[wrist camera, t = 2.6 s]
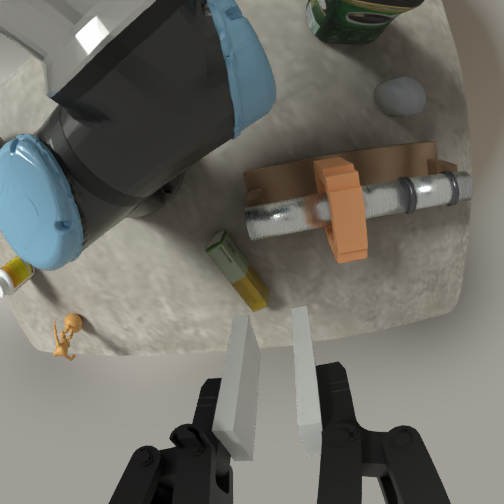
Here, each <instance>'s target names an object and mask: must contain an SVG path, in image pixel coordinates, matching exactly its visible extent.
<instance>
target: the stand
mask: <svg viewBox="0 0 504 504" xmlns="http://www.w3.org/2000/svg"><path fill="white" fill-rule="evenodd" d="M335 157H341V158H343V159H345V160H347V161H348V162H350V163H352V164H353V165H354V169H355V170H356V171H358V174H359V181H360V186H361V185H367V184H373V183H380V182H386V181H392V180H398V178H399V177H404V176H407V177H408V178H412V177H419V176H426V175H434V174H440V173H441V172H442V171H451V172H457V165H455V164H452V163H449V162H446V161H443V160H439V159H437V154H436V145H435V142H431V141H430V142H419V143H409V144H400V145H392V146H383V147H376V148H368V149H361V150H355V151H348V152H342V153H335V154H329V155H324V156H318V157H312V158H307V159H302V160H297V161H291V162H286V163H282V164H277V165H272V166H267V167H263V168H258V169H254V170H249V171H245V172H244V177H245V181H246V185H247V189H248V195H247V198H246V205H247V208H248V207H253V206H257V205H262V204H267V203H271V202H276V201H281V200H286V199H291V198H296V197H301V196H306V195H312V194H317V193H318V190H317V185H316V179H315V172H314V167H313V164H314V161H318V160H323V159H329V158H335Z"/></svg>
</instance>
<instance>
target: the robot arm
mask: <svg viewBox="0 0 504 504" xmlns="http://www.w3.org/2000/svg"><path fill="white" fill-rule="evenodd" d="M0 33H2V34H3V35H4V36H6V37H7V38H9V39H10V40H12V41H13V42H14V43H16V44H17V45H19V46H20V47H21V48H23V49H24V50H26V51H27V52H28V53H30V54H31V55H33V56H34V57H35V58H37V59H38V60H40V61H41V62H42V65H43V68H44V83H45V95H47V96H48V97H49V98H51V99H52V100H54V101H55V102H57V103H58V104H59V105H58V106H57V107H56V109H55V110H54V111H53V112H52V114H51V115H50V116H49V117H48V119H47V120H46V121H45V122H44V124H43V125H42V126H41V128H40V129H39V130H37V131H36V132H35V133H33V134H31V135H30V134H21V135H18V136H17V137H16V138H14V139H12V140H10V141H9V142H7V143H6V144H5V145H4V146H3V147H2V148H1V149H0V229H1V231H2V233H3V235H4V237H5V239H6V240H7V242H8V243H9V245H10V246H11V248H12V249H13V250H14V251H15V252H16V254H17V255H18V256H19V257H20V258H21V259H23V260H24V261H25V262H27V263H28V264H31V265H33V266H34V267H35V268H38V269H41V270H46V271H51V270H56V269H59V268H61V267H62V266H64V265H65V264H67V263H68V262H72V261H74V260H76V259H77V258H78V257H79V256H80V254H81V252H82V251H83V250H84V249H86V248H87V247H88V246H89V245H90V244H92V243H93V242H94V241H96V240H97V239H98V238H99V237H101V236H102V235H103V234H104V233H106V232H107V231H108V230H110V229H111V228H112V227H114V226H115V225H116V224H118V223H119V222H120V221H122V220H123V219H124V218H134V217H142V216H146V215H149V214H151V213H153V212H155V211H157V210H159V209H160V208H161V207H163V206H164V205H165V204H166V203H167V202H169V201H170V200H171V199H172V197H173V196H174V195H175V194H176V192H177V191H178V189H179V187H180V185H181V182H182V180H183V176H184V172H185V169H187V168H188V167H190V166H191V165H193V164H194V163H195V162H197V161H198V160H200V159H201V158H203V157H204V156H206V155H207V154H209V153H210V152H212V151H213V150H215V149H216V148H218V147H219V146H221V145H222V144H224V143H225V142H227V141H229V140H230V139H235V138H237V136H239V135H240V133H241V131H242V130H244V129H245V128H247V127H248V126H250V125H251V124H253V123H254V122H256V121H257V120H259V119H260V118H262V117H263V116H265V115H266V114H267V113H268V112H269V111H270V109H271V108H272V105H273V104H274V102H275V99H276V85H275V80H274V76H273V73H272V70H271V67H270V64H269V61H268V59H267V56H266V54H265V51H264V49H263V47H262V45H261V43H260V41H259V39H258V37H257V35H256V33H255V31H254V29H253V28H252V26H251V24H250V23H249V21H248V19H246V18H245V17H244V16H242V12H241V10H240V9H239V7H238V5H237V3H236V2H235V0H0ZM291 312H292V327H293V342H294V358H295V376H296V397H297V421H298V428H299V432H300V436H301V440H302V443H303V447H304V450H305V454H306V456H314V455H321V462H320V476H319V477H320V478H319V488H318V498H317V504H361V500H362V476H368V477H377V479H378V482H379V485H380V488H381V490H382V493H383V496H384V500H385V503H386V504H451V503H450V500H449V498H448V496H447V493H446V491H445V489H444V486H443V484H442V482H441V479H440V477H439V475H438V473H437V471H436V468H435V466H434V464H433V462H432V459H431V457H430V455H429V453H428V451H427V449H426V447H425V445H424V442H423V441H422V439H421V436H420V434H419V433H418V432H417V430H416V429H414V428H412V427H410V426H403V425H402V426H398V427H395V428H393V429H391V430H390V431H389V432H374V431H368V430H366V429H364V428H362V427H361V426H360V425H359V424H358V422H357V420H356V417H355V412H354V407H353V402H352V397H351V392H350V388H349V383H348V378H347V374H346V370H345V368H344V367H343V366H342V365H341V364H340V363H339V362H334V363H329V364H324V365H318V366H316V363H315V355H314V348H313V341H312V335H311V329H310V323H309V317H308V311H307V306H302V307H297V308H291ZM260 357H261V353H260V350H259V347H258V344H257V340H256V337H255V334H254V331H253V328H252V325H251V322H250V319H249V315H248V316H241V317H234V319H233V324H232V329H231V334H230V340H229V345H228V350H227V355H226V360H225V365H224V370H223V376H222V378H214V379H207V380H206V382H205V383H204V385H203V386H202V387H201V391H200V395H199V399H198V403H197V407H196V411H195V415H194V419H193V423H192V424H184V425H181V426H179V427H177V428H175V430H174V431H173V432H172V433H171V435H170V438H169V439H170V440H171V441H172V442H173V443H174V444H175V445H176V447H173V448H168V449H164V450H157V449H156V448H155V447H153V446H143V447H140V448H139V449H137V450H136V451H135V452H134V454H133V455H132V457H131V459H130V461H129V463H128V465H127V467H126V469H125V471H124V473H123V475H122V477H121V479H120V481H119V483H118V485H117V487H116V489H115V492H114V494H113V496H112V498H111V500H110V502H109V504H233V471H232V467H231V466H230V458H231V457H232V458H233V459H234V461H252V460H253V449H254V437H255V425H256V411H257V398H258V385H259V371H260Z"/></svg>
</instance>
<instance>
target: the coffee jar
mask: <svg viewBox="0 0 504 504" xmlns="http://www.w3.org/2000/svg"><path fill="white" fill-rule="evenodd" d="M423 1H424V0H308V3H307V6H306V15H307V21H308V24H309V27H310V29H311V31H312V33H313V34H314V35H315V36H316V37H318V38H319V39H321V40H324V41H328V42H335V43H349V44H361V43H369V42H372V41H374V40H375V39H376V38H377V37H378V36H379V35H380V34H381V33H382V32H383V30H384V29H385V28H386V27H387V26H388V24H389V23H390V22H391V21H392V20H393V19H394V18H395V17H397V16H398V15H400V14H401V13H404V12H406V11H409V10H412V9H414V8H416V7H418V6H420V5H421V4H422V3H423Z"/></svg>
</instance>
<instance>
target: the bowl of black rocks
mask: <svg viewBox="0 0 504 504" xmlns="http://www.w3.org/2000/svg"><path fill="white" fill-rule="evenodd" d="M4 145H5V142H4V141H3V140H2V138H1V137H0V149H1V148H2V147H3V146H4Z"/></svg>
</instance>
